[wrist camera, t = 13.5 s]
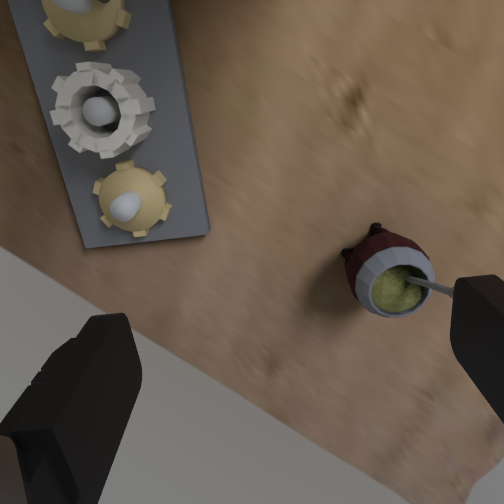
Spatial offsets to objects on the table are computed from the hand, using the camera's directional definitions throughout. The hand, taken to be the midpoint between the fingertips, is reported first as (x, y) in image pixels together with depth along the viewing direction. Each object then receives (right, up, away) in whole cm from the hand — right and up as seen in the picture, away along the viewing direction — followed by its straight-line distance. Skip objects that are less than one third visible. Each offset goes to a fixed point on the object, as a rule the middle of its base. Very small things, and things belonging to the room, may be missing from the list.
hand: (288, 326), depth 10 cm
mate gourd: (+11, +2, +30) cm, 32 cm away
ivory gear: (-12, +14, +23) cm, 30 cm away
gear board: (-12, +14, +24) cm, 31 cm away
